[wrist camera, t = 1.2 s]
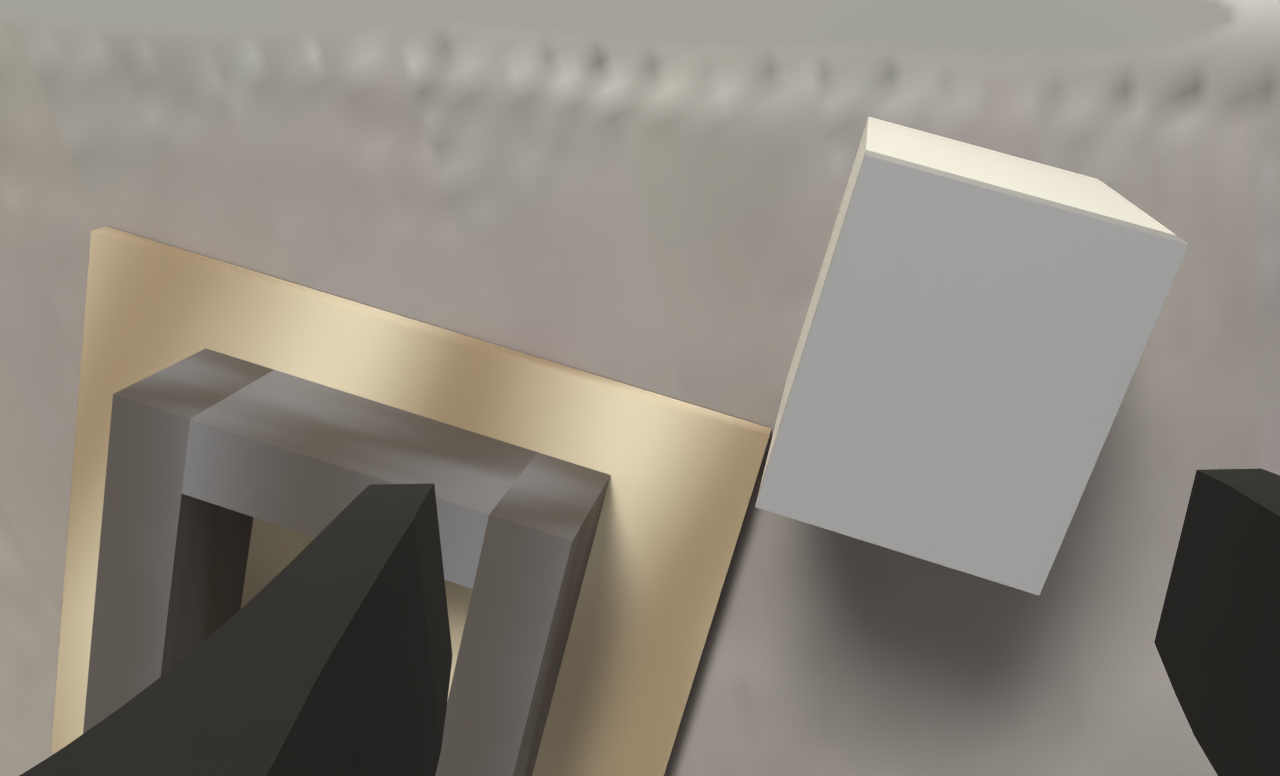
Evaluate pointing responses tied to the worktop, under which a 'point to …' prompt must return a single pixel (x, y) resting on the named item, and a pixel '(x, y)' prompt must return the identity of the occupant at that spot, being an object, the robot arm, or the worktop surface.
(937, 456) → the plug
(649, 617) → the socket
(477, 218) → the worktop surface
